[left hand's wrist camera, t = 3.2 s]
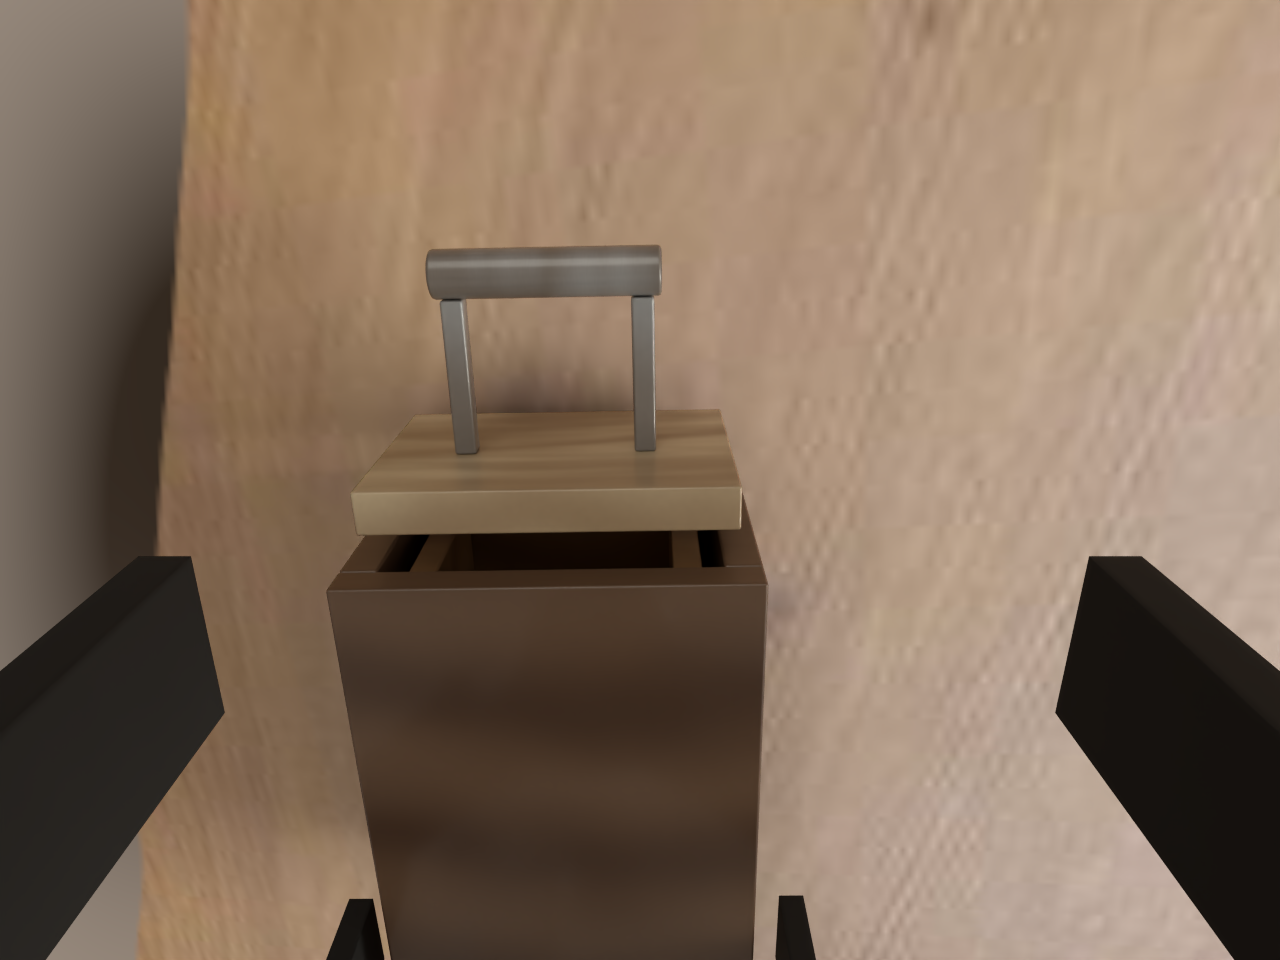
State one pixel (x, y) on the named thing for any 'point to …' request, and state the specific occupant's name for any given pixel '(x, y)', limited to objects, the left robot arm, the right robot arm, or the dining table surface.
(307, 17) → the dining table surface
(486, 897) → the brown box
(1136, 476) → the dining table surface
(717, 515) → the drawer
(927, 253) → the dining table surface
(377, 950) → the right robot arm
